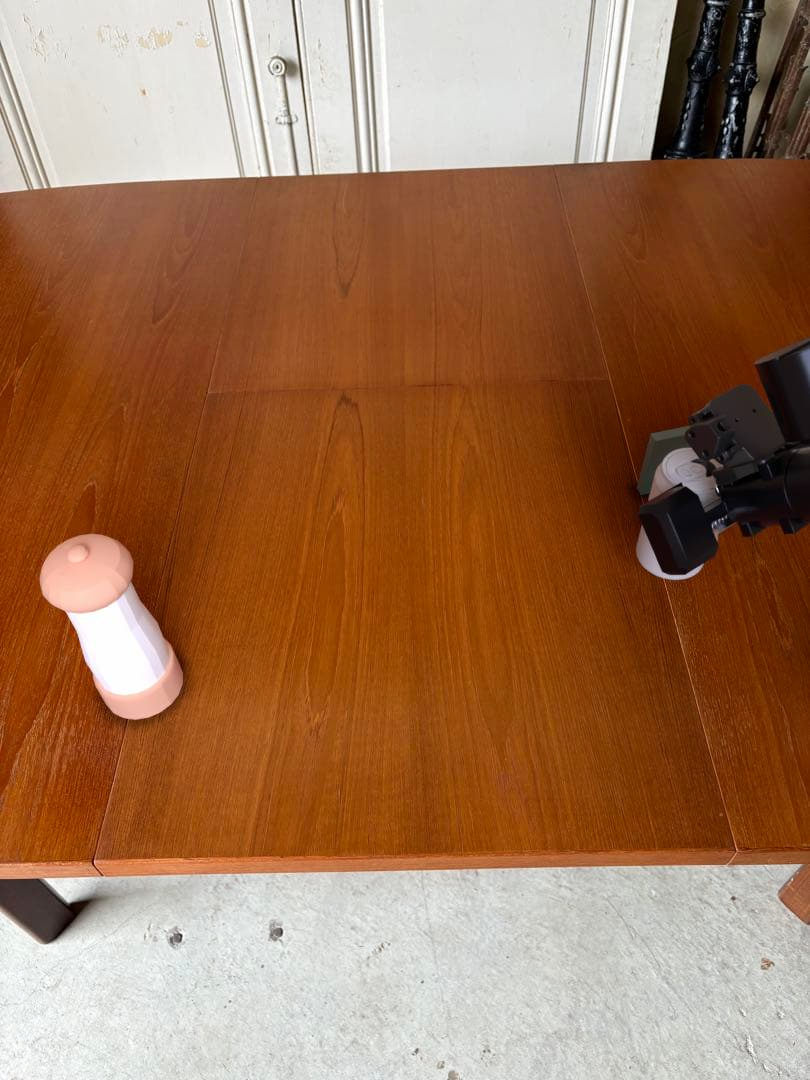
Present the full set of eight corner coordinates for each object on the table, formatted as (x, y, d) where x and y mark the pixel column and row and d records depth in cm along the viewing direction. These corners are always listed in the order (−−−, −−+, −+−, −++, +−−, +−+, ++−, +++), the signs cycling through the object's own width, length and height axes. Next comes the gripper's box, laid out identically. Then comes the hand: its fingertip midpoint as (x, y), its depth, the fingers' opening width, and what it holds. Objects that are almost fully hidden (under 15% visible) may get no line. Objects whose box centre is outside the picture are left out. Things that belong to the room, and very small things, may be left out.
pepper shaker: (95, 720, 73) (12, 589, 59) (114, 652, 78) (41, 516, 64) (175, 719, 73) (111, 586, 59) (189, 651, 78) (133, 513, 64)
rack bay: (767, 510, 88) (791, 455, 82) (665, 533, 86) (682, 479, 80) (734, 467, 92) (754, 412, 87) (636, 487, 91) (650, 433, 85)
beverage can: (716, 571, 78) (751, 479, 69) (660, 593, 76) (688, 503, 67) (675, 527, 82) (703, 435, 73) (621, 548, 80) (643, 456, 71)
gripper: (855, 339, 63) (710, 385, 77) (682, 432, 56) (559, 463, 71) (905, 471, 64) (753, 492, 78) (742, 577, 57) (609, 578, 72)
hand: (672, 503), depth 75 cm, fingers closed on beverage can, 6 cm apart
